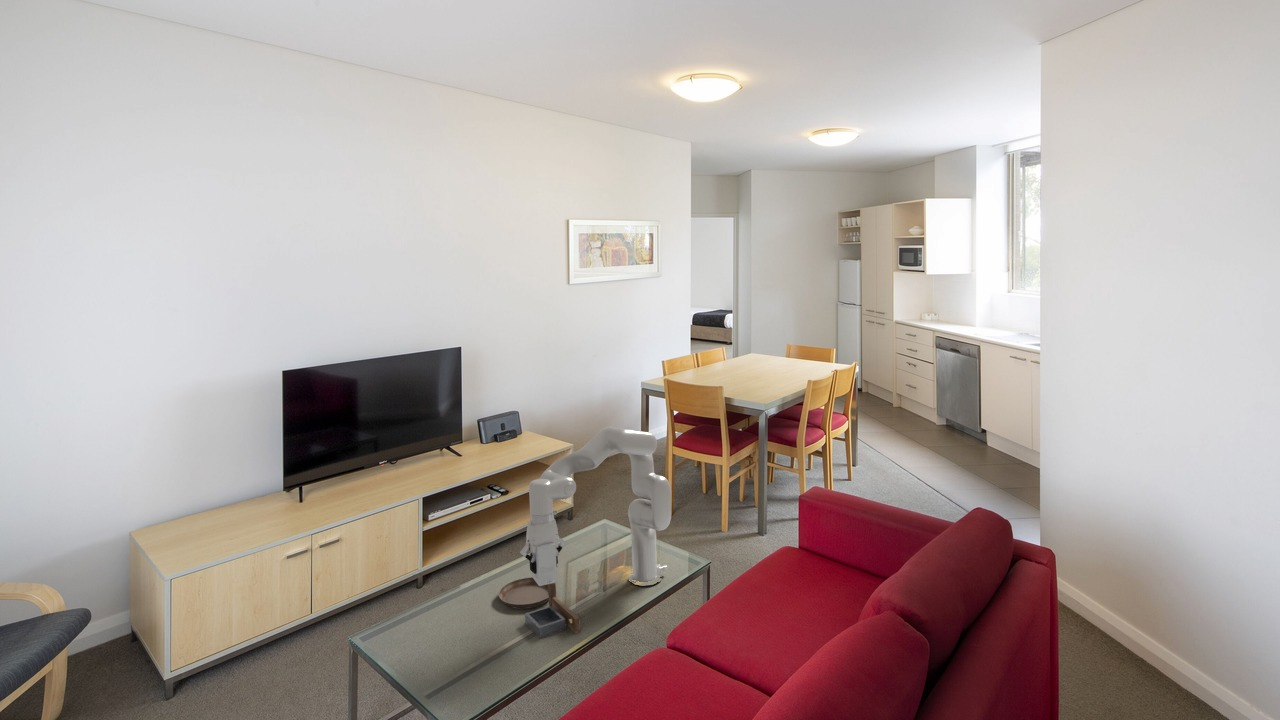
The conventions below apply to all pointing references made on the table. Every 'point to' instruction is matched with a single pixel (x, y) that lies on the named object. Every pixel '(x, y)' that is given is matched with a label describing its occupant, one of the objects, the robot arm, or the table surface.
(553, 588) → the brown l-shaped wood piece
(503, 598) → the plant saucer
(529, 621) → the gray square tray
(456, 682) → the table surface
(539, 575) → the small box
